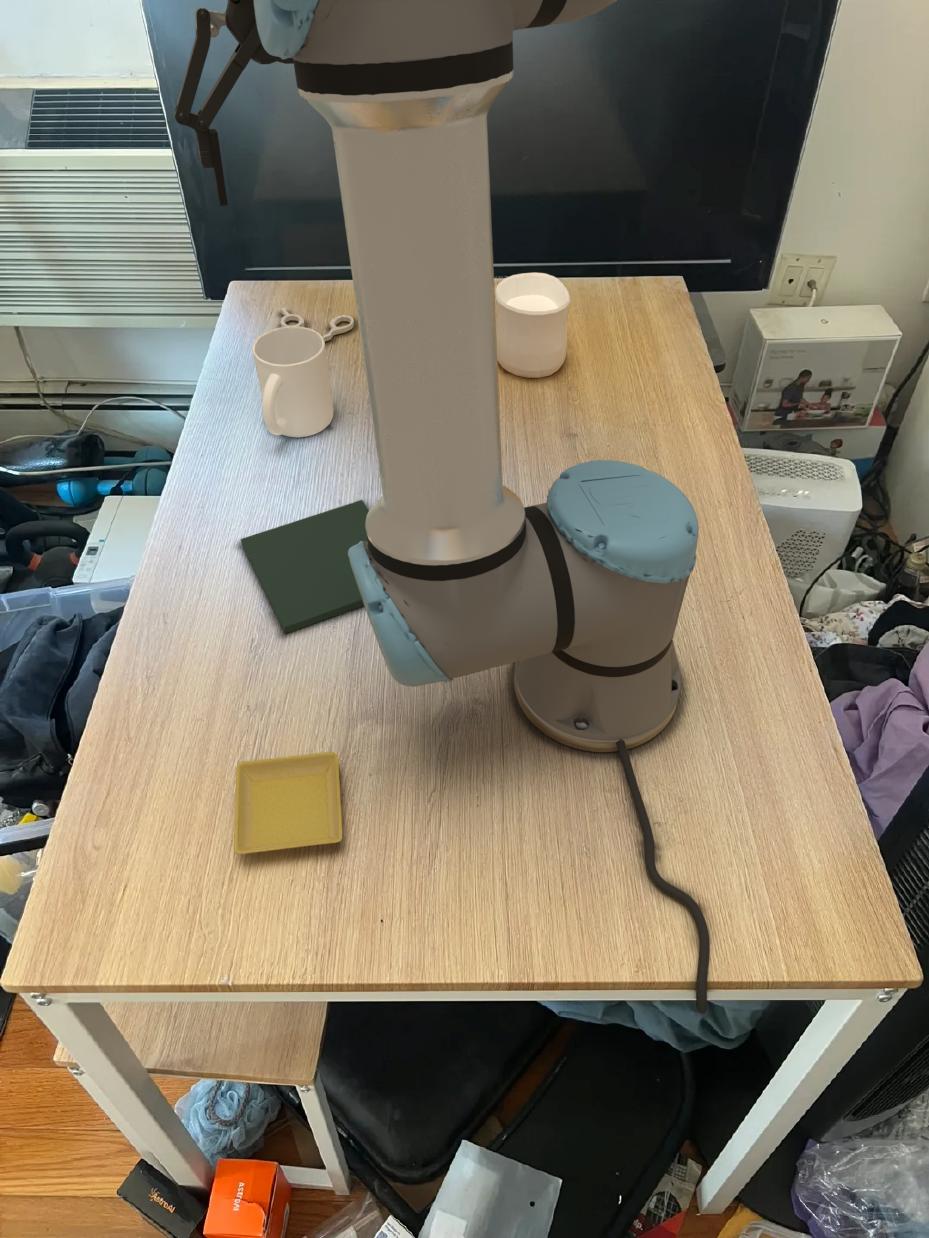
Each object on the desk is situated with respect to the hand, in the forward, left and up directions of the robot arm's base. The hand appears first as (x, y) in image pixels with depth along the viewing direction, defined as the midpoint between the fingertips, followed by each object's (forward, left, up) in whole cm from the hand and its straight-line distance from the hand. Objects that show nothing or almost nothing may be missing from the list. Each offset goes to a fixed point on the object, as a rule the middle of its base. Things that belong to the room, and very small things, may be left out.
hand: (290, 199), depth 94 cm
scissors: (+13, -3, -26) cm, 29 cm away
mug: (-2, +4, -27) cm, 27 cm away
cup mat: (-26, +9, -26) cm, 38 cm away
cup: (-2, -29, -27) cm, 39 cm away
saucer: (-52, +22, -27) cm, 62 cm away
